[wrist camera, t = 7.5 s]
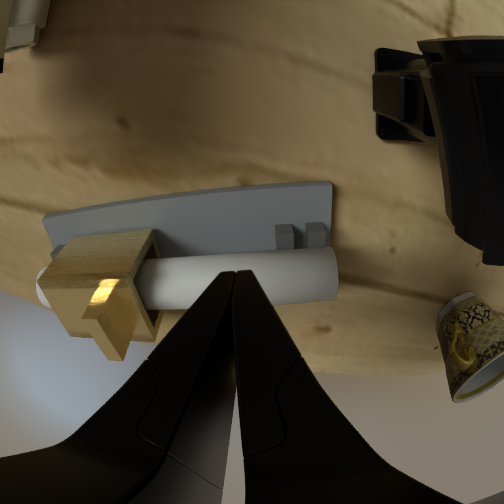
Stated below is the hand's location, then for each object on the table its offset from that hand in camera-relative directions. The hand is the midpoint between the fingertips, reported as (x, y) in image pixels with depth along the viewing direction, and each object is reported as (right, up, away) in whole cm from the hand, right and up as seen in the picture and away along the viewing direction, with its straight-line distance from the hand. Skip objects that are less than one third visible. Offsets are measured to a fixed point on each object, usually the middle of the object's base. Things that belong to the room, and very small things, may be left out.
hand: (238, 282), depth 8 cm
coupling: (-11, 0, +14) cm, 18 cm away
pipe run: (-6, +1, +15) cm, 16 cm away
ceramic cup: (+24, -6, +19) cm, 31 cm away
